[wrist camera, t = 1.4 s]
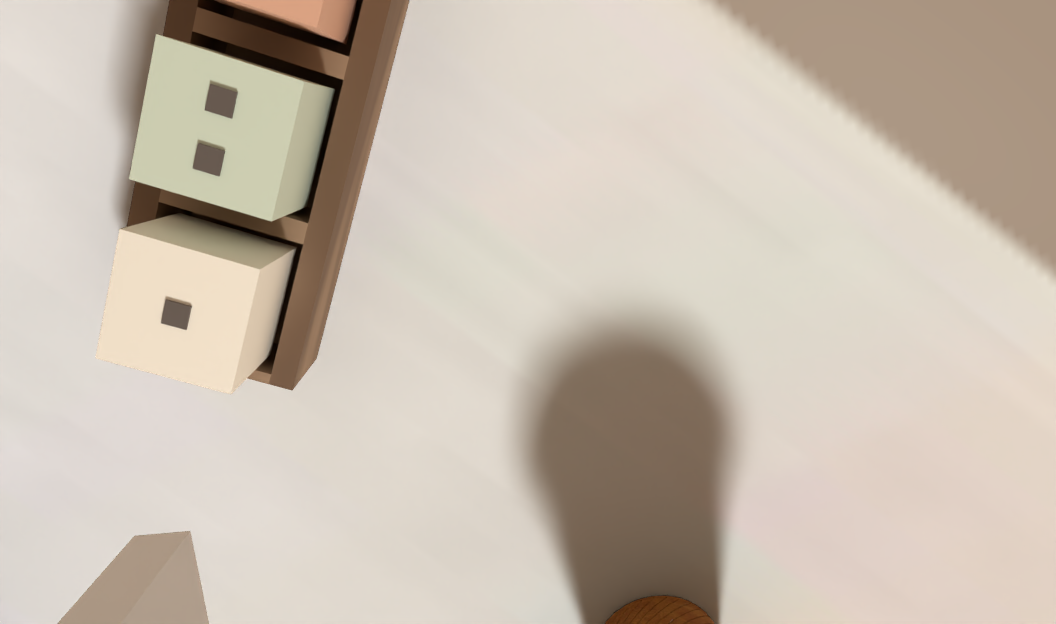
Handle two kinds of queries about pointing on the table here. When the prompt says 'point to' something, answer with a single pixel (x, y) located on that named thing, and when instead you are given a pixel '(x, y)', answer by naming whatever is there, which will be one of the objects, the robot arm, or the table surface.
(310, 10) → the key three
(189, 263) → the key one
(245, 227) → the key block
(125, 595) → the robot arm
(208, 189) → the key two
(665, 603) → the disposable coffee cup
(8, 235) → the table surface
